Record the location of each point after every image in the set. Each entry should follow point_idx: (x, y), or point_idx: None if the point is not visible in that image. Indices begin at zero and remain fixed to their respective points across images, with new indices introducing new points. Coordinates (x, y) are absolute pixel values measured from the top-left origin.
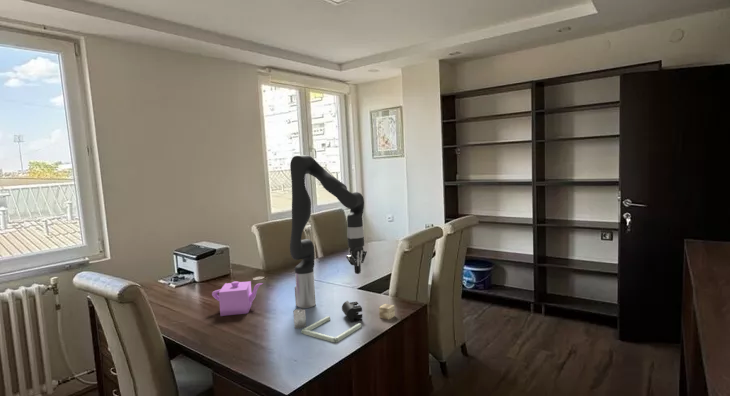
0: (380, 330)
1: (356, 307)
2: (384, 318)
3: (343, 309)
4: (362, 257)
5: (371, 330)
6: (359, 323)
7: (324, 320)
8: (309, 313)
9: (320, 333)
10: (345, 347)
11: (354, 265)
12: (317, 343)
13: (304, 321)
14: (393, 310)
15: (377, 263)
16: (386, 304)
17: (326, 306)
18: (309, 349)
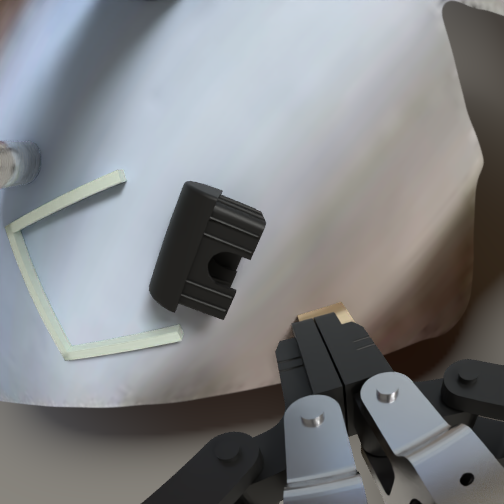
0: (218, 389)
1: (201, 303)
2: None
3: (171, 219)
4: (501, 458)
5: (195, 373)
6: (177, 335)
7: (90, 195)
8: (109, 55)
9: (38, 298)
10: (84, 387)
11: (274, 439)
12: (30, 319)
13: (18, 184)
14: None
15: None
16: None
17: (215, 26)
18: (12, 328)
